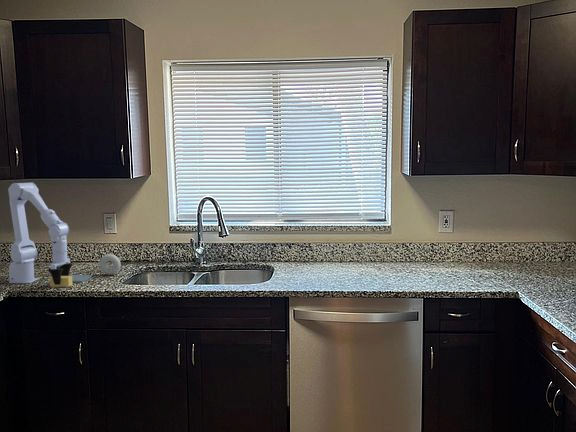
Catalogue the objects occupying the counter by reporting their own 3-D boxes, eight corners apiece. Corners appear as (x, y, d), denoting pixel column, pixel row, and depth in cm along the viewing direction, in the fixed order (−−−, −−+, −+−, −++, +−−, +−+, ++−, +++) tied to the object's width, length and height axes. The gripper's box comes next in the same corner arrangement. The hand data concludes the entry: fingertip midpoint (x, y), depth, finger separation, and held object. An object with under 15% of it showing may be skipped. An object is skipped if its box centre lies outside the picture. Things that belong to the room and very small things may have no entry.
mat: (50, 282, 226) (50, 280, 226) (62, 276, 238) (62, 274, 238) (82, 282, 226) (82, 281, 226) (92, 276, 238) (92, 275, 238)
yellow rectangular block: (50, 287, 219) (49, 278, 219) (54, 284, 223) (53, 275, 223) (68, 287, 219) (68, 278, 219) (72, 284, 223) (72, 275, 223)
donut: (98, 275, 240) (97, 254, 239) (100, 274, 244) (100, 253, 243) (119, 275, 241) (119, 254, 240) (122, 274, 244) (121, 253, 243)
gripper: (61, 254, 213) (63, 286, 214) (76, 248, 227) (77, 278, 228) (44, 254, 212) (46, 286, 214) (60, 248, 227) (61, 278, 228)
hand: (61, 282), depth 221 cm, fingers open, 7 cm apart
